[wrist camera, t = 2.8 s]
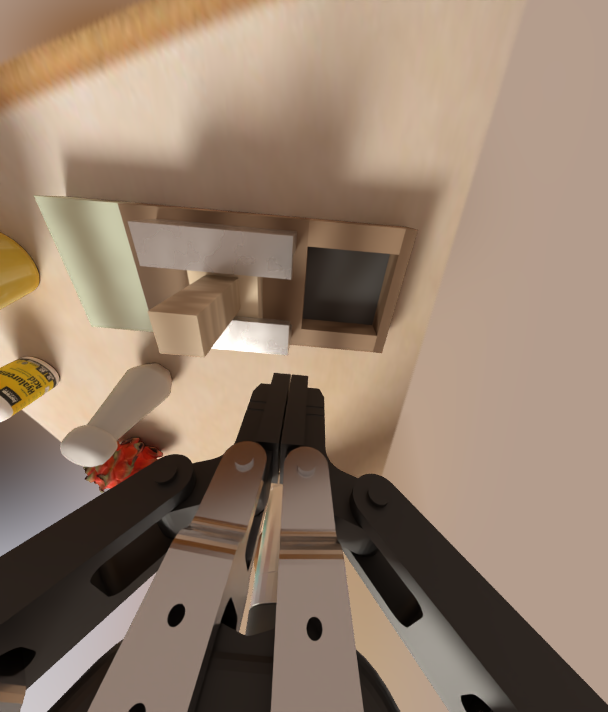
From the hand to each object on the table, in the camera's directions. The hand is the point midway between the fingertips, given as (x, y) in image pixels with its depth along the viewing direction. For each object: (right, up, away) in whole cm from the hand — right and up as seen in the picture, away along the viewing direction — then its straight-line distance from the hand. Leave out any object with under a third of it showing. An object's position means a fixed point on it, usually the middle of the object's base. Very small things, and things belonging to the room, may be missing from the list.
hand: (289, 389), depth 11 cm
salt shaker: (-20, -1, +23) cm, 30 cm away
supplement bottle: (-37, -1, +24) cm, 44 cm away
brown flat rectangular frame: (-6, +10, +15) cm, 19 cm away
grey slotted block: (-6, +8, +12) cm, 16 cm away
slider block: (-6, +8, +12) cm, 16 cm away
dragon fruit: (-28, -14, +32) cm, 45 cm away
